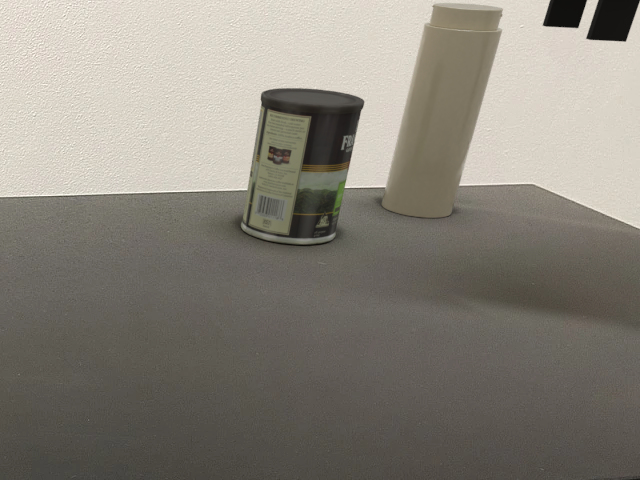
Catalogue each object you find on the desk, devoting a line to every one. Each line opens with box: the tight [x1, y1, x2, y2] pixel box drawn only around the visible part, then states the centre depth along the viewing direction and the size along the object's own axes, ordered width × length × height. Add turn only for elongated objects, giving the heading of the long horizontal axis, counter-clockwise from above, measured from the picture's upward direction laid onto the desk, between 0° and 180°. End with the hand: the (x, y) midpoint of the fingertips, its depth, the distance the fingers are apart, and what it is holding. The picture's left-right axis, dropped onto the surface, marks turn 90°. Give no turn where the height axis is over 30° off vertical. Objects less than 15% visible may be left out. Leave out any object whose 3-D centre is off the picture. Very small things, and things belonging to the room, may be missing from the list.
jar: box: [381, 2, 504, 219], centre depth 110 cm, size 8×8×22 cm
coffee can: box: [240, 87, 365, 246], centre depth 103 cm, size 10×10×14 cm
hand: (582, 32), depth 79 cm, fingers closed on lid, 8 cm apart
